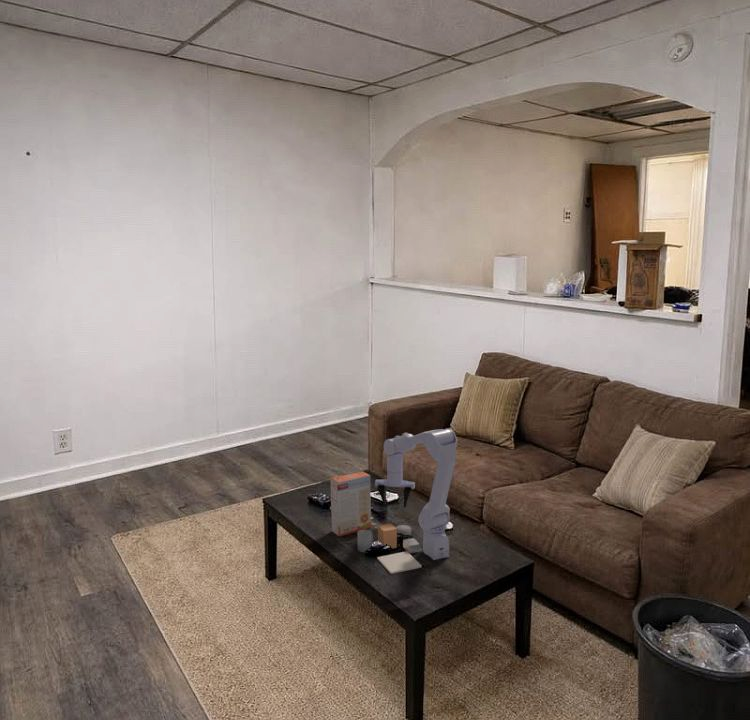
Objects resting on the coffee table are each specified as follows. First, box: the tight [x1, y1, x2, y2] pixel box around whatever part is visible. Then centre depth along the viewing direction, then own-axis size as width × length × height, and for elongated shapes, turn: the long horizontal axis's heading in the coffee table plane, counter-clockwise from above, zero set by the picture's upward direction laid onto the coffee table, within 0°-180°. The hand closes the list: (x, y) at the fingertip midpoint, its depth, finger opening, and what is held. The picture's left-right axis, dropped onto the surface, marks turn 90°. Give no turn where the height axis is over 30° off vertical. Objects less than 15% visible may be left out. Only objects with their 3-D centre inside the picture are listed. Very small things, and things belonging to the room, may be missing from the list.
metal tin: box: [402, 537, 421, 555], centre depth 216 cm, size 5×4×3 cm
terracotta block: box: [377, 522, 398, 549], centre depth 219 cm, size 5×5×7 cm
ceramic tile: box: [376, 550, 423, 575], centre depth 207 cm, size 11×11×1 cm
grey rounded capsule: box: [356, 529, 373, 553], centre depth 217 cm, size 5×5×6 cm
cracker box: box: [330, 471, 372, 538], centre depth 230 cm, size 14×6×21 cm, turn 122°
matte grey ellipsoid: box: [394, 524, 412, 536], centre depth 228 cm, size 6×6×2 cm
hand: (394, 505), depth 230 cm, fingers open, 7 cm apart
